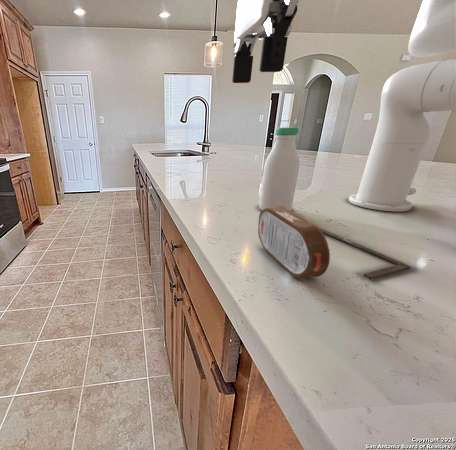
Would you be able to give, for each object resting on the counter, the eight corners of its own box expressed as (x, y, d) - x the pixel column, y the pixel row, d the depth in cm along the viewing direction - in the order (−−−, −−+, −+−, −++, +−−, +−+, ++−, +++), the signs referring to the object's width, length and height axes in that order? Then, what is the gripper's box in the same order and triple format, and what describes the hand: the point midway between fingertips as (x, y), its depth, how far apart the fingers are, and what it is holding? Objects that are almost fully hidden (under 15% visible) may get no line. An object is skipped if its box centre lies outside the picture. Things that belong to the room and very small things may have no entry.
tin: (324, 289, 34) (339, 233, 30) (302, 291, 33) (315, 235, 30) (268, 240, 47) (274, 199, 44) (252, 242, 47) (257, 200, 44)
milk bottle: (295, 215, 59) (312, 127, 52) (261, 213, 61) (273, 128, 53) (286, 205, 66) (300, 126, 59) (256, 204, 68) (266, 127, 60)
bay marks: (299, 220, 56) (299, 219, 56) (410, 267, 37) (411, 266, 37) (268, 226, 54) (268, 225, 54) (370, 279, 35) (370, 277, 35)
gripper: (352, -132, 25) (314, 65, 31) (264, -32, 41) (251, 85, 47) (282, -137, 24) (258, 65, 31) (221, -33, 40) (214, 86, 47)
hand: (254, 77), depth 39 cm, fingers open, 9 cm apart
